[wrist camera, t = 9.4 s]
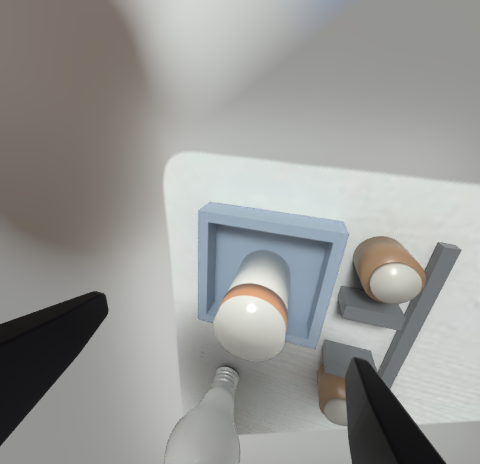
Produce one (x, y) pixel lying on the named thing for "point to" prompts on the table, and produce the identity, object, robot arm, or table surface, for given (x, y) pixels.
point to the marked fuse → (255, 308)
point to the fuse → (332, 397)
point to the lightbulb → (208, 427)
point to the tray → (281, 242)
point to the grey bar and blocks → (389, 319)
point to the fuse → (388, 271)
